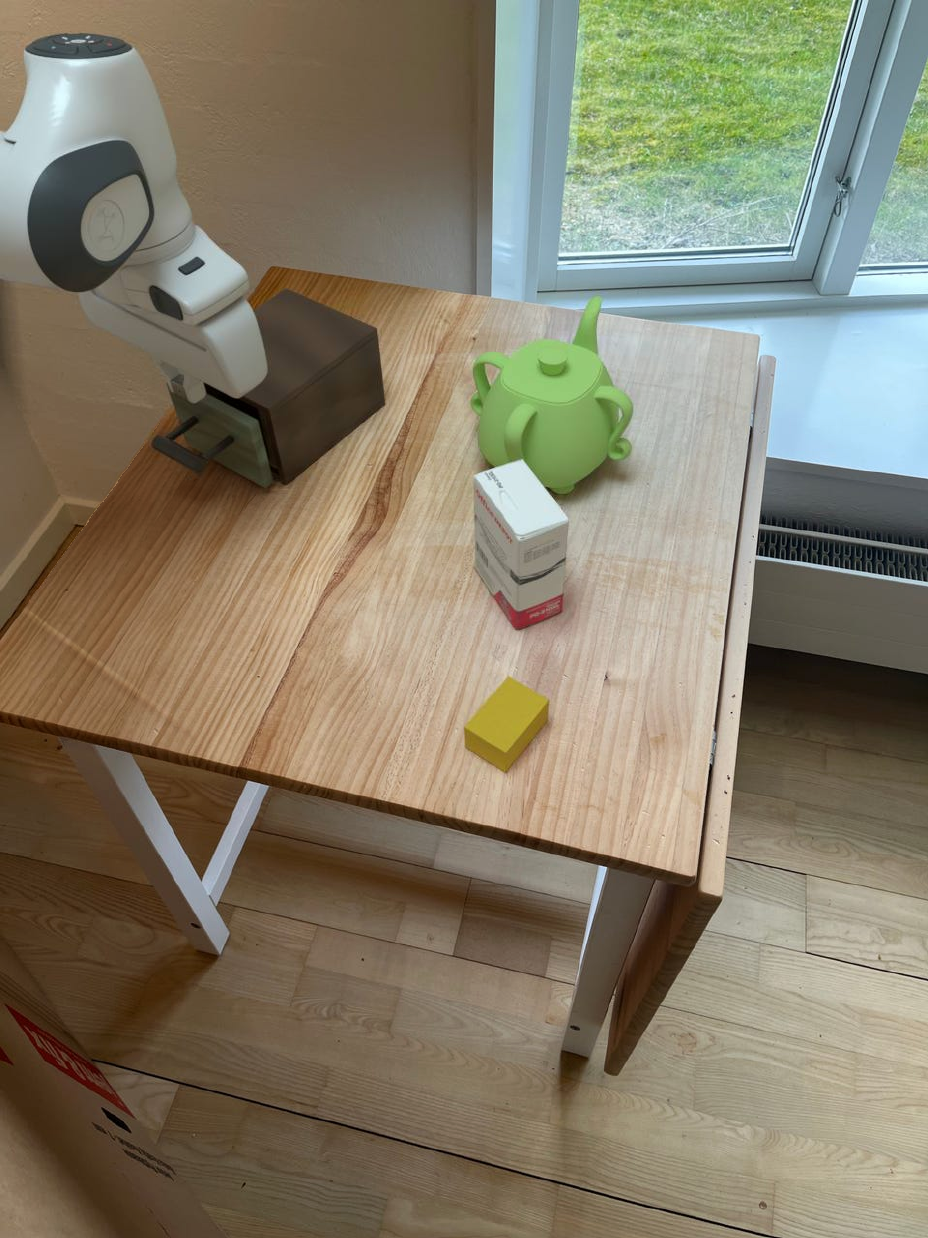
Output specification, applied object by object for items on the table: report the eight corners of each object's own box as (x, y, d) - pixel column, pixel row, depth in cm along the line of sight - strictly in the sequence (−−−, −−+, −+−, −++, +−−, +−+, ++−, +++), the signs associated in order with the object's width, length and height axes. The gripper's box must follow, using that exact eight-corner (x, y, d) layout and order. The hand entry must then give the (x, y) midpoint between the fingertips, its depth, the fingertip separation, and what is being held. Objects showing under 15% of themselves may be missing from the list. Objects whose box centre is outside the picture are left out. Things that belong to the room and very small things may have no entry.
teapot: (462, 413, 102) (458, 309, 92) (590, 394, 103) (600, 290, 93) (493, 517, 92) (492, 413, 82) (634, 495, 93) (650, 391, 83)
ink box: (564, 612, 84) (573, 518, 75) (515, 632, 83) (517, 539, 74) (519, 549, 89) (522, 454, 80) (472, 567, 88) (469, 473, 79)
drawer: (226, 519, 91) (207, 458, 85) (147, 473, 96) (123, 411, 90) (360, 411, 101) (352, 349, 95) (282, 373, 105) (270, 311, 99)
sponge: (505, 772, 74) (505, 753, 72) (464, 747, 76) (463, 726, 73) (547, 720, 77) (549, 699, 75) (507, 696, 79) (508, 675, 76)
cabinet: (286, 485, 95) (268, 409, 88) (199, 437, 100) (176, 361, 93) (385, 404, 103) (377, 327, 95) (300, 363, 108) (286, 287, 100)
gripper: (33, 235, 79) (89, 372, 90) (203, 316, 71) (242, 455, 82) (93, 202, 82) (140, 339, 93) (262, 277, 74) (292, 417, 85)
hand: (189, 394), depth 87 cm, fingers closed
